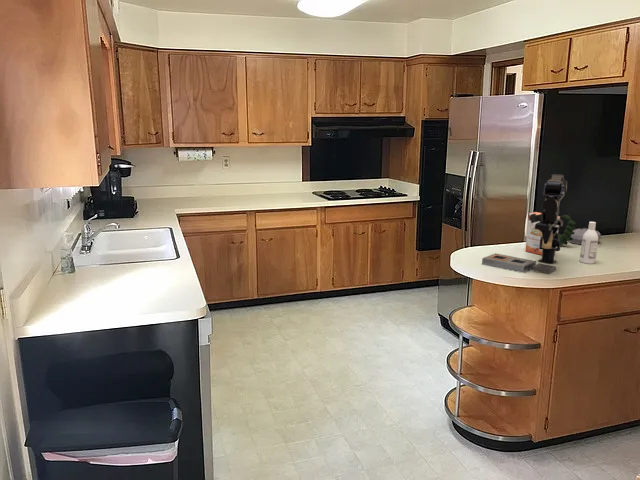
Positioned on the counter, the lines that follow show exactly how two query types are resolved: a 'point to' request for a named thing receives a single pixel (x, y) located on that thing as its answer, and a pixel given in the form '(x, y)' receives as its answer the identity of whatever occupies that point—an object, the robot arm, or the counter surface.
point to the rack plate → (508, 262)
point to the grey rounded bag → (580, 235)
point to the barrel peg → (548, 243)
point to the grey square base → (544, 268)
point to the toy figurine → (567, 231)
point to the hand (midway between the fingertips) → (547, 243)
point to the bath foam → (589, 245)
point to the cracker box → (534, 237)
